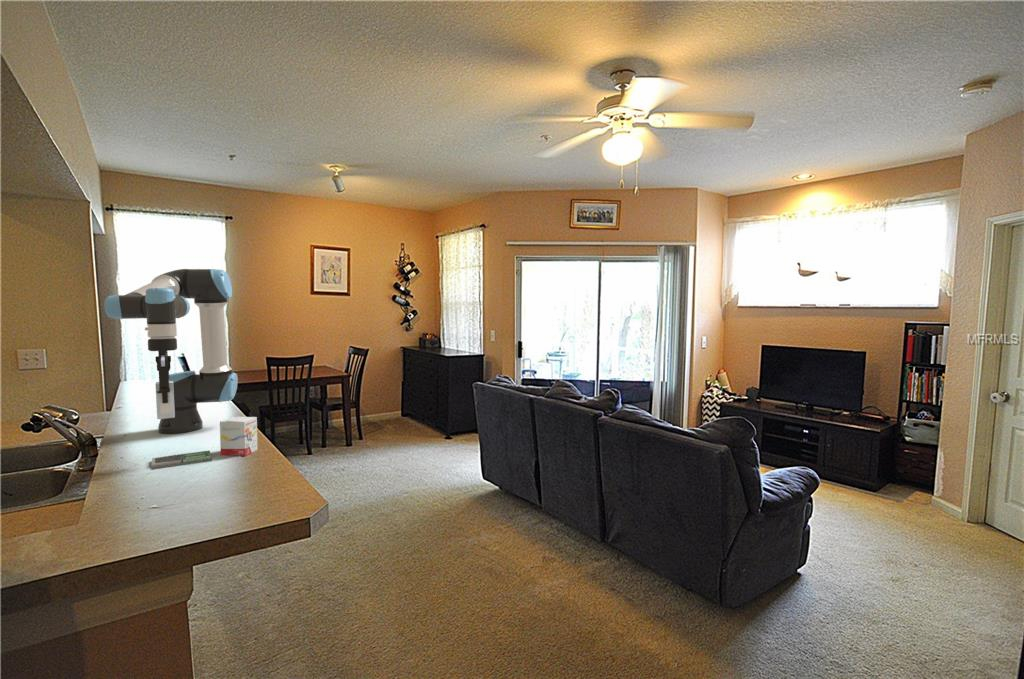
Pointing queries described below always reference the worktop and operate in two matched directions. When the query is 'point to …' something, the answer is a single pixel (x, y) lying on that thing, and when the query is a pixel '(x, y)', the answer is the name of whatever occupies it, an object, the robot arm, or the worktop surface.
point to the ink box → (238, 436)
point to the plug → (172, 414)
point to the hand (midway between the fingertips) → (166, 411)
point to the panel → (180, 460)
